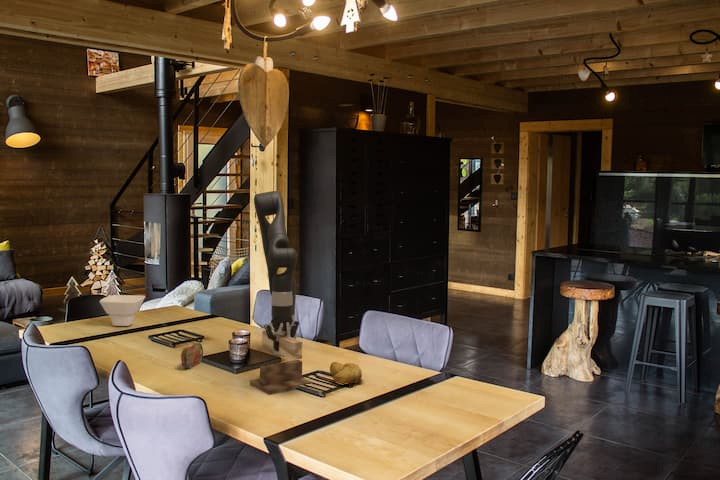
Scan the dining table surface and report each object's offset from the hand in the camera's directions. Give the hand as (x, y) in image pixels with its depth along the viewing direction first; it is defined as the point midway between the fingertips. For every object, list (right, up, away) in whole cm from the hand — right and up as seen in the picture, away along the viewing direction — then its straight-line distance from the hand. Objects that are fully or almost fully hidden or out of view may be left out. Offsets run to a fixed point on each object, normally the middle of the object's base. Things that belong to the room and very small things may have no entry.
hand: (281, 349), depth 240 cm
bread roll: (+24, -13, +6) cm, 28 cm away
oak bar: (0, -1, 0) cm, 1 cm away
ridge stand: (0, -13, +1) cm, 13 cm away
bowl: (-91, -3, +93) cm, 130 cm away
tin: (-39, -10, +24) cm, 47 cm away
